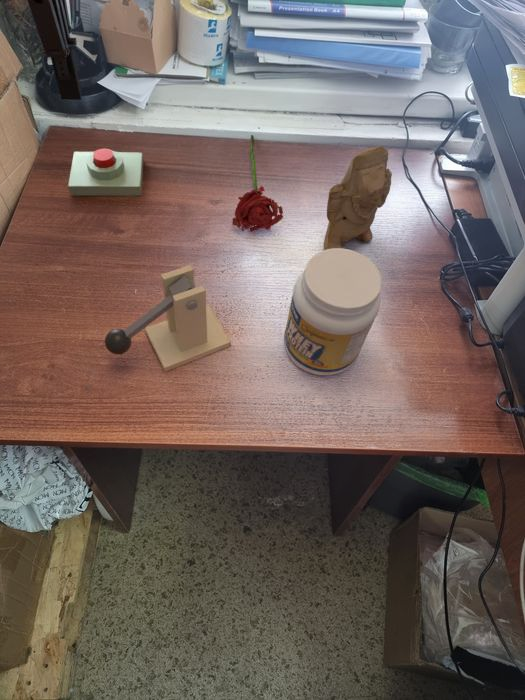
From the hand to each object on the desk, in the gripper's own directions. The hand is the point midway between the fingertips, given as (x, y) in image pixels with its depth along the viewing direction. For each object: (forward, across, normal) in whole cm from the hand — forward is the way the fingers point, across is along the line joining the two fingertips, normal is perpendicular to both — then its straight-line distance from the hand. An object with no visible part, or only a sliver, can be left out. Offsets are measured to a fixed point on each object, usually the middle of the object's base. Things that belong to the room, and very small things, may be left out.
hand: (71, 96), depth 73 cm
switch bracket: (+23, -27, -15) cm, 39 cm away
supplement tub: (+23, -30, -36) cm, 52 cm away
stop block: (+23, +11, -1) cm, 25 cm away
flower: (+23, +8, -31) cm, 39 cm away
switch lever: (+16, -29, -11) cm, 35 cm away
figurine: (+23, -8, -45) cm, 51 cm away
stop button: (+19, +11, -1) cm, 22 cm away
